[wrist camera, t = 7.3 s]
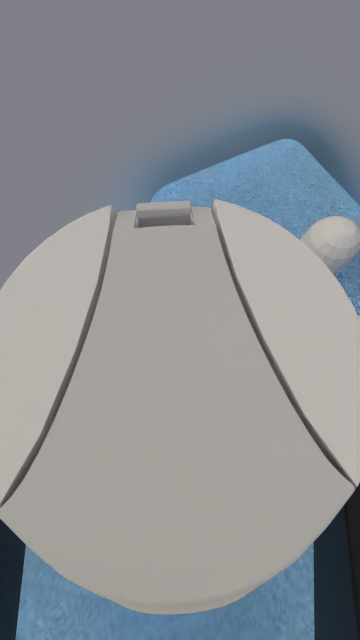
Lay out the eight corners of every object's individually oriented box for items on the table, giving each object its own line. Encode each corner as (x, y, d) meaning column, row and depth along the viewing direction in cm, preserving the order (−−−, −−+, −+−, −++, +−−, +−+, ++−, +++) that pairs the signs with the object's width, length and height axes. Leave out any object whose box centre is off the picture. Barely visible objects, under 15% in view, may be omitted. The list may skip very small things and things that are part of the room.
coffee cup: (124, 341, 20) (-17, 183, 6) (226, 335, 20) (336, 166, 6) (123, 458, 17) (-157, 721, 3) (240, 450, 17) (517, 664, 3)
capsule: (273, 265, 30) (303, 219, 23) (306, 245, 31) (345, 194, 24) (303, 298, 29) (346, 260, 21) (336, 276, 30) (388, 232, 22)
